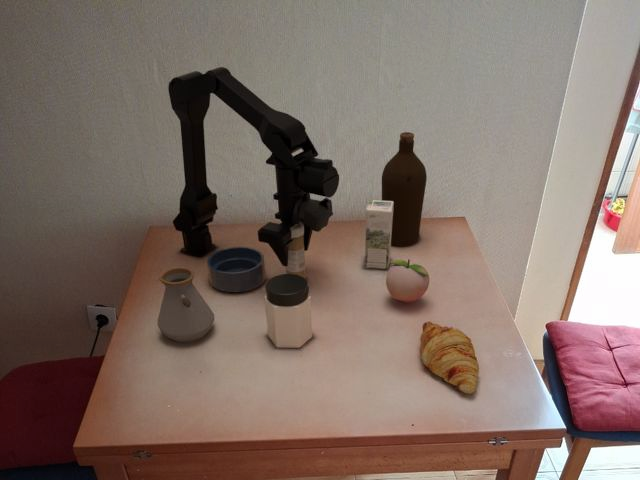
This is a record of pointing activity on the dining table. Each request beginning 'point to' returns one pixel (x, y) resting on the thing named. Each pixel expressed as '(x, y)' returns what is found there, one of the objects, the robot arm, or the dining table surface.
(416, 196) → the olive oil
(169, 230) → the dining table surface
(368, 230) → the syrup box
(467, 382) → the croissant
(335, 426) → the dining table surface
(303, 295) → the jar
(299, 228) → the sprinkles bottle
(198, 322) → the coffee pot
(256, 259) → the bowl
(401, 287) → the decorative fruit
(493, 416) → the dining table surface
